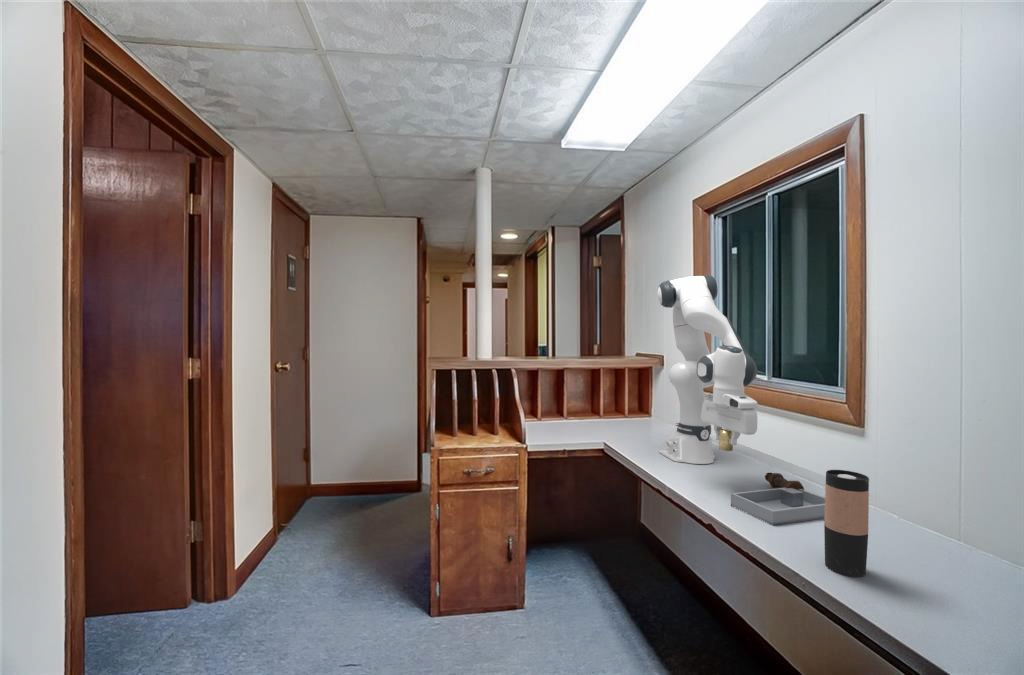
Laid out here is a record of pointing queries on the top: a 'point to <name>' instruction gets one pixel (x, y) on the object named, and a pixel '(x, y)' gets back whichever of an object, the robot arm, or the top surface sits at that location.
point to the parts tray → (779, 506)
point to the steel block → (792, 497)
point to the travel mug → (846, 522)
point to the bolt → (782, 481)
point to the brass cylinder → (725, 440)
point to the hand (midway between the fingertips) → (726, 442)
